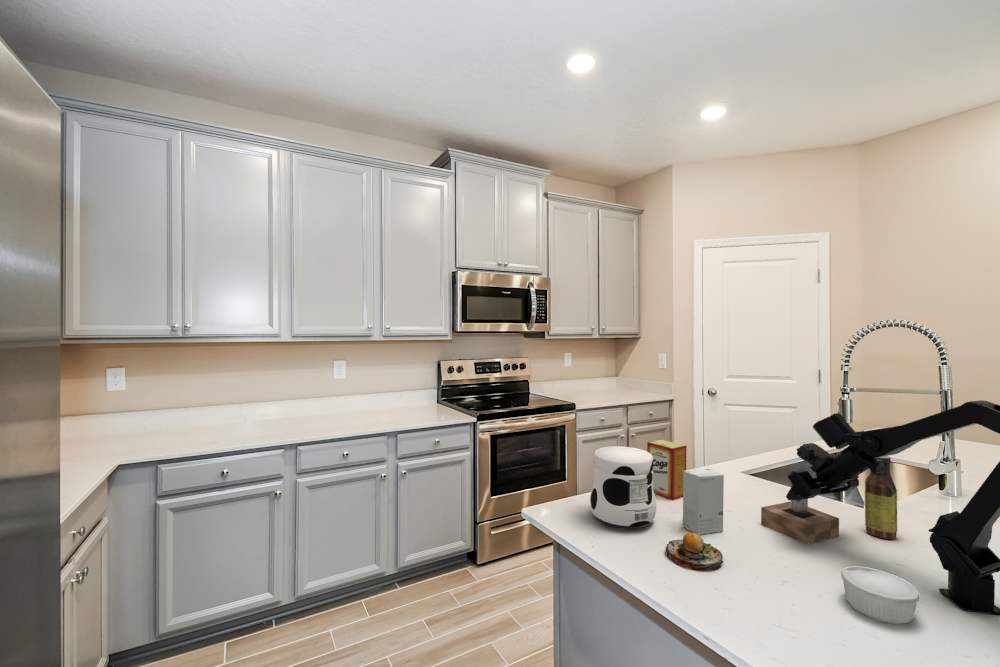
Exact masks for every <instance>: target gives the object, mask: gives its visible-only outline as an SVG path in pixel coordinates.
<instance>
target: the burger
mask: <svg viewBox="0 0 1000 667" xmlns="http://www.w3.org/2000/svg"><path fill="white" fill-rule="evenodd" d="M665 555H666V557H667V558H668V559H669V560H670V559H671V560H672V561H674V562H675V564H676V565H678V566H679V567H686V569H688V570H691V571H696V572H715V571H717V570H720V569H721V568H722V567H723V564H724V561H723V558H724V557H723V554H722V552H721V551H720V550H719V549H717V548H716V547H714V546H713V545H712V544H711V543H707V542H706V543H705V541H704V539H703V537H702V536H701V535H698V534H696V533H693V532H691V531H690V532H686V533H685V534H683V537H682V539H672V540H670V541H668V543H666V546H665Z"/></svg>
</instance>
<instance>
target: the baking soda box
mask: <svg viewBox="0 0 1000 667" xmlns="http://www.w3.org/2000/svg"><path fill="white" fill-rule="evenodd" d="M646 448H647V449H646V451H647V452H649V453H650V454H651V455H652V457H653V491H654V495H657V496H659V497H662V498H666V499H668V500H670V501H676V500H678V499H683V471H685V470H687V445H684V444H683V443H679V442H674V441H669V440H665V439H656V440H651V441H650V440H649V441H647V446H646Z"/></svg>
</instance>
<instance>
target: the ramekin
mask: <svg viewBox="0 0 1000 667" xmlns="http://www.w3.org/2000/svg"><path fill="white" fill-rule="evenodd" d="M840 577H841V579H842V583H843V586H844V587H843V588H844V594H845V598H846V600H847V602H848V603H849V604H850V605H851V607H852V608H853V609H855V610H856V611H858V612H859V613H861V614H862V615H865V616H867V617H868V618H871V619H872V620H873V619H874V620H877V621H879V622H883V623H887V624H893V625H904V624H907V623H909V622H911V621H912V620H913V619H914V617H915V613H916V609H917V604H918V602H919V601H920V592H919V590H918V588H916V586H914V585H913V583H911V582H909V581H907V580H906V579H904V578H902V577H900V576H897V575H896V574H892V573H890V572H887V571H884V570H880V569H876V568H872V567H867V566H857V565H856V566H855V565H854V566H853V565H852V566H847V567H843V569H842V570H841V576H840Z"/></svg>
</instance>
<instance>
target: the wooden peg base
mask: <svg viewBox="0 0 1000 667" xmlns="http://www.w3.org/2000/svg"><path fill="white" fill-rule="evenodd" d="M760 511H761V513H760V524H761V525H762V526H764V527H766V528H769V529H771V530H773V531H775V532H778V533H779V534H782V535H784V536H786V537H789V538H791V539H793V540H794V541H797V542H800V543H802V544H804V545H805V546H807V545H810V544H814V543H818V542H822V541H825V539H826V540H830V539H833V537H834V538H837V537H839V536H840V518H839V517H837V516H834V515H831V514H829V513H826V512H824V511H821V510H818V509H816V508H812V507H810V506H808V518H803V519H802V518H800V517H797V516H795V515H792V514H791V500H789V501H787V502H786V501H785V502H781V503H776V504H772V505H765V506H762V507H761V510H760ZM836 536H837V537H836ZM829 538H830V539H829Z"/></svg>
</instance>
